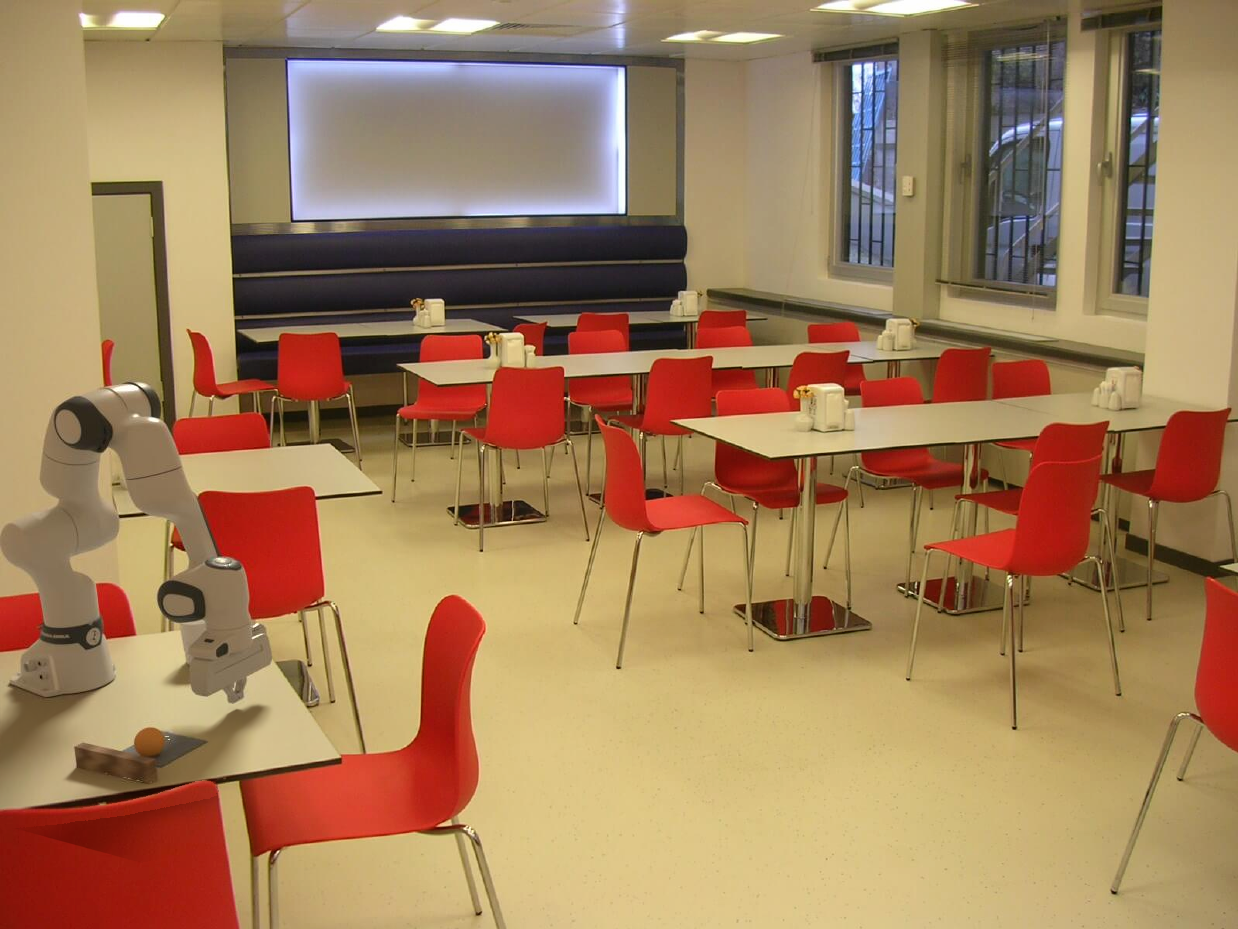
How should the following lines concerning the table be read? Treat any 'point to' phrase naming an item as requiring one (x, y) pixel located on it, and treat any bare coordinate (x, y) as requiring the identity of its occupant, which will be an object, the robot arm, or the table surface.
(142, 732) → the ball
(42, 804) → the table surface
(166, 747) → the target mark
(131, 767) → the stopper wall
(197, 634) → the white cup
